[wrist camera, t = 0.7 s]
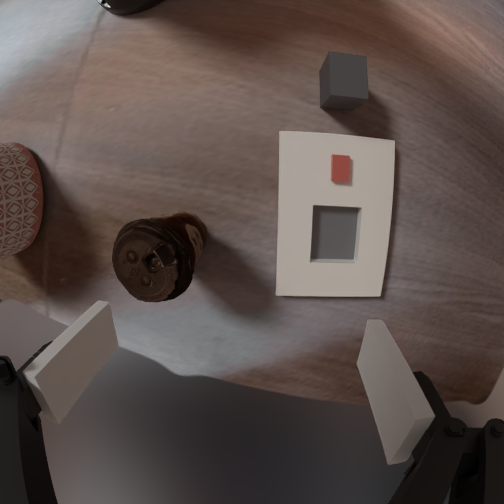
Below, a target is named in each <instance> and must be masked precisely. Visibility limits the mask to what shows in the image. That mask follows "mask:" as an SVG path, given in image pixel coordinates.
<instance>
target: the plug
mask: <svg viewBox="0 0 504 504" xmlns="http://www.w3.org/2000/svg"><path fill="white" fill-rule="evenodd" d="M368 99H369V96H368V77H367V63H366V57H364V56H358V55H351V54H344V53H335V52H329V53H328V55H327V57H326V59H325V61H324V63H323V65H322V67H321V69H320V108H330V109H341V110H351V111H352V110H354V109H355V108H356V107H358V106H359V105H361V104H362V103H364V102H365V101H367V100H368Z"/></svg>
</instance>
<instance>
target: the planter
mask: <svg viewBox="0 0 504 504" xmlns="http://www.w3.org/2000/svg"><path fill="white" fill-rule="evenodd" d="M42 214H43V187H42V181H41V176H40V172H39V169H38V166H37V164H36V161H35V159H34V157H33V156H32V154H31V153H30V151H29V150H28V149H27V148H26V147H24V146H23V145H21V144H19V143H0V261H1V260H3V259H5V258H7V257H9V256H11V255H14V254H16V253H18V252H20V251H22V250H25V249H26V248H27V247H29V246H30V245H31V244H32V243H33V241H34V239H35V238H36V236H37V233H38V231H39V228H40V224H41V220H42Z"/></svg>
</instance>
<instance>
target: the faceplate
mask: <svg viewBox="0 0 504 504" xmlns="http://www.w3.org/2000/svg"><path fill="white" fill-rule="evenodd" d="M394 162H395V141H393V140H386V139H378V138H370V137H362V136H352V135H342V134H330V133H315V132H296V131H280V132H279V198H278V238H277V269H276V295H278V296H333V297H374V296H381V290H382V284H383V278H384V272H385V265H386V258H387V251H388V243H389V234H390V224H391V214H392V201H393V186H394Z"/></svg>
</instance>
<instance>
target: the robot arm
mask: <svg viewBox="0 0 504 504" xmlns="http://www.w3.org/2000/svg"><path fill="white" fill-rule="evenodd" d="M97 1H98V3H99V4H100V5H101V6H102V7H104V8H105V9H106V10H107V11H109V12H111V13H113V14H118V15H128V14H134V13H138V12H142V11H144V10H147V9H149V8H152V7H154V6H156V5H158V4H159V3H161V2H163V1H164V0H97ZM117 346H118V340H117V336H116V332H115V327H114V322H113V317H112V312H111V307H110V302H105V301H99V300H98V301H97V302H96V303H95V304H94V305H92V306H91V307H90V308H89V309H88V310H87V311H86V312H85V313H83V314H82V315H81V316H80V317H79V318H78V319H77V320H76V321H75V322H73V323H72V324H71V325H70V326H69V327H68V328H67V329H66V330H65V331H64V332H63V333H62V334H60V335H59V336H58V337H57V338H56V339H55V340H54V341H51V342H49V343H47V344H45V345H43V346H42V347H41V348H40V349H39V350H38V352H37V353H35V354H34V355H33V357H31V358H30V359H29V360H28V361H27V362H26V363H25V364H24V365H23V366H22V367H21V368H20V369H19V370H18V371H17V372H16V371H15V368H14V366H13V364H12V362H11V359H10V358H9V357H7V356H0V504H58V503H57V499H56V496H55V492H54V488H53V484H52V480H51V476H50V472H49V467H48V462H47V457H46V452H45V446H44V440H43V433H42V425H41V419H40V417H39V415H38V414H39V413H40V411H41V410H42V411H43V413H44V415H45V417H46V418H47V419H48V420H50V421H52V422H54V423H56V424H60V423H61V422H62V420H63V419H64V417H65V416H66V415H67V413H68V412H69V410H70V409H71V408H72V406H73V405H74V403H75V402H76V401H77V399H78V398H79V397H80V395H81V394H82V392H83V391H84V390H85V388H86V387H87V386H88V384H89V383H90V382H91V380H92V379H93V378H94V376H95V375H96V374H97V372H98V371H99V370H100V368H101V367H102V366H103V364H104V363H105V362H106V360H107V359H108V358H109V356H110V355H111V354H112V353H113V351H114V350H115V349H116V347H117ZM357 366H358V369H359V372H360V375H361V378H362V381H363V384H364V387H365V390H366V393H367V396H368V399H369V402H370V405H371V408H372V412H373V414H374V418H375V421H376V424H377V428H378V431H379V434H380V438H381V441H382V444H383V448H384V451H385V455H386V458H387V462H388V465H390V464H395V463H400V462H405V461H406V460H407V459H408V458H409V456H410V455H411V453H412V455H413V458H414V462H413V463H412V464H411V465H410V467H409V468H408V469H407V471H406V472H405V477H404V479H403V480H402V482H401V484H400V485H399V487H398V489H397V490H396V492H395V493H394V495H393V496H392V498H391V500H390V501H389V503H388V504H443V502H444V500H445V498H446V495H447V493H448V491H449V488H450V486H451V491H450V497H449V503H448V504H504V421H503V420H501V419H496V418H495V419H491V420H489V421H488V422H487V423H486V425H485V426H484V427H483V428H468V427H467V425H466V424H465V423H464V422H463V421H461V420H459V419H458V418H453V417H451V416H450V414H449V412H448V411H447V409H446V407H445V405H444V403H443V401H442V400H441V398H440V396H439V394H437V391H436V389H435V388H434V386H433V384H432V382H431V380H430V379H429V378H428V377H427V376H426V375H425V374H424V373H422V372H421V371H418V372H412V371H411V369H410V367H409V365H408V364H407V362H406V360H405V358H404V356H403V355H402V353H401V351H400V349H399V348H398V346H397V344H396V342H395V341H394V339H393V337H392V336H391V334H390V332H389V331H388V329H387V327H386V326H385V324H384V322H383V321H382V320H368V321H367V325H366V330H365V334H364V338H363V342H362V346H361V350H360V354H359V357H358V361H357Z"/></svg>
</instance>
